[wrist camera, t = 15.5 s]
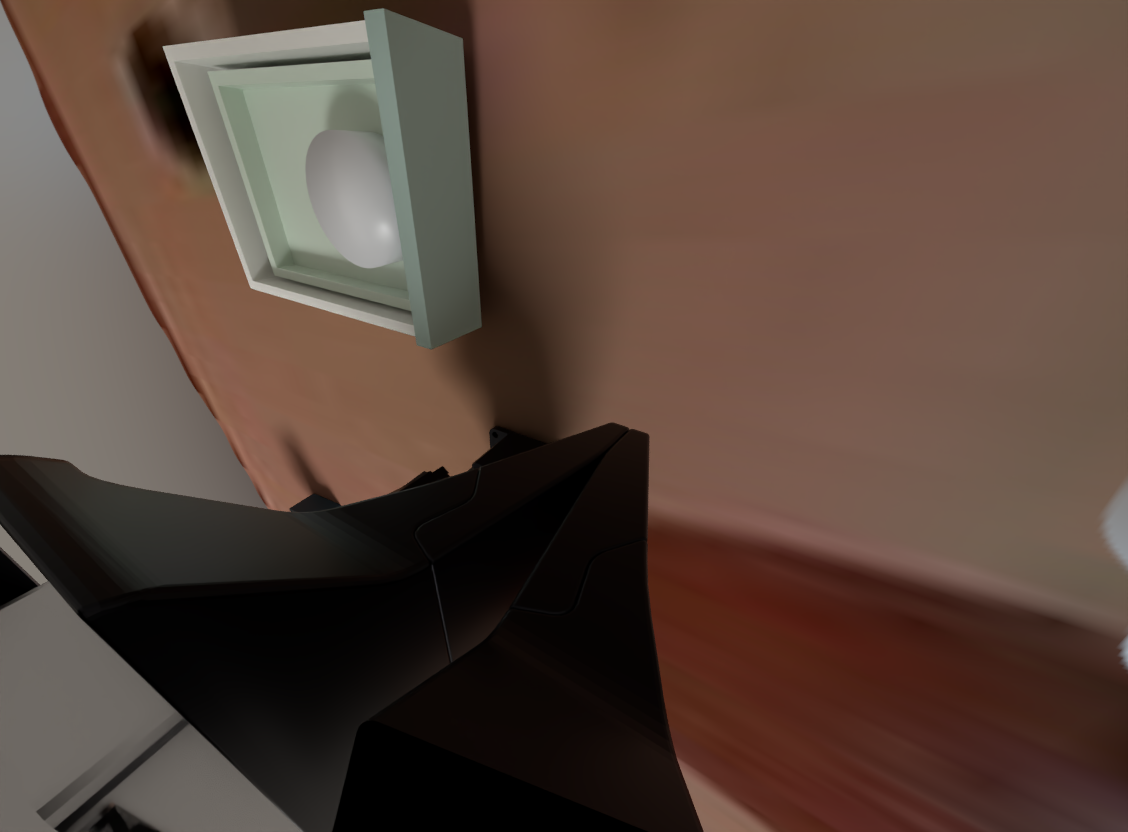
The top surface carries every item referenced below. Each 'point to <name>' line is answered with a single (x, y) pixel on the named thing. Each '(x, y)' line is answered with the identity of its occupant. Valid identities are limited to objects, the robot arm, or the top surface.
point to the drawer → (415, 160)
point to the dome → (354, 196)
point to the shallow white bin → (221, 162)
